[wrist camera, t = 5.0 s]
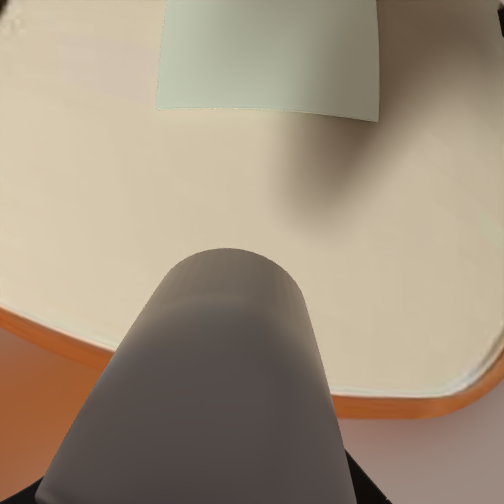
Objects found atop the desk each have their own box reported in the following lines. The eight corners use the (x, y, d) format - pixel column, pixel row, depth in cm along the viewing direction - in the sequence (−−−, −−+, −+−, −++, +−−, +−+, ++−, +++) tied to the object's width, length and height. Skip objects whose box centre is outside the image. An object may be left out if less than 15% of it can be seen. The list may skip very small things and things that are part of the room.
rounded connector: (316, 252, 7) (430, 494, 2) (275, 487, 11) (279, 603, 5) (147, 244, 7) (-26, 435, 2) (184, 481, 11) (164, 594, 5)
